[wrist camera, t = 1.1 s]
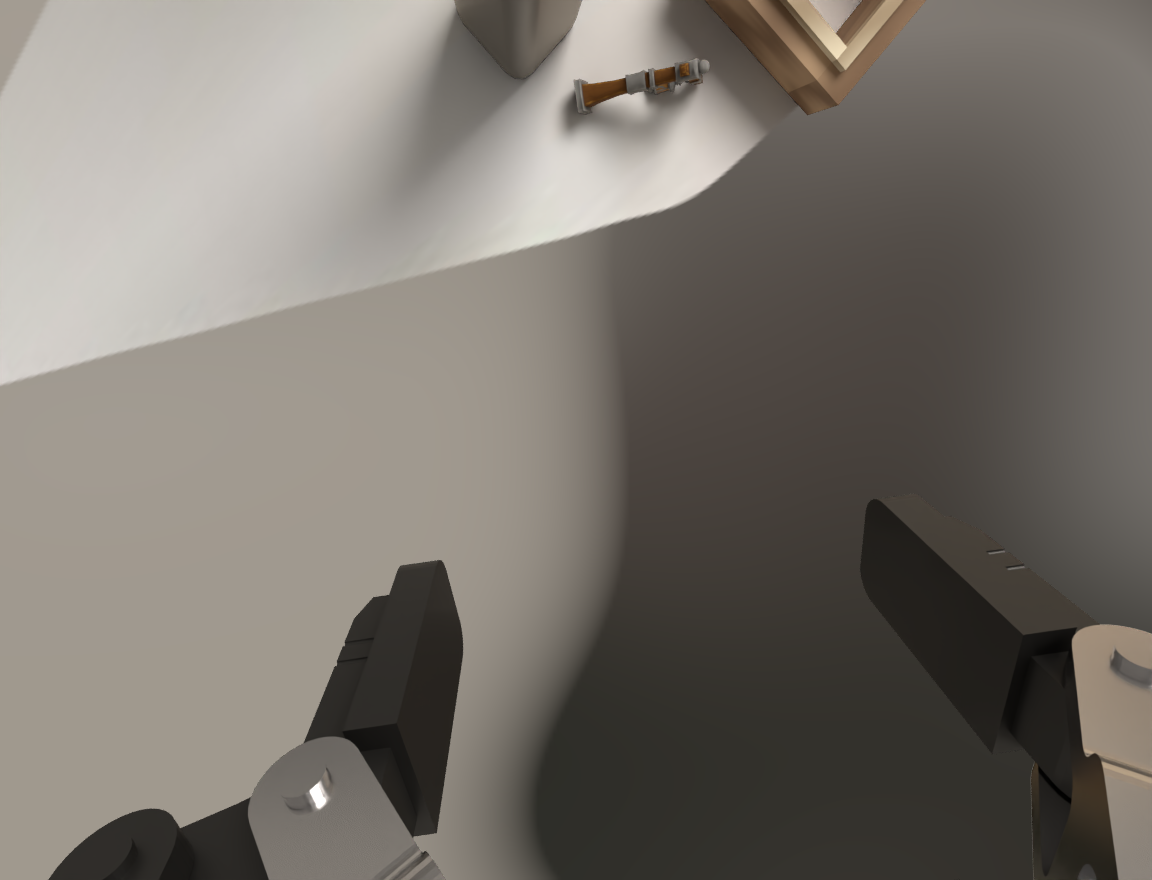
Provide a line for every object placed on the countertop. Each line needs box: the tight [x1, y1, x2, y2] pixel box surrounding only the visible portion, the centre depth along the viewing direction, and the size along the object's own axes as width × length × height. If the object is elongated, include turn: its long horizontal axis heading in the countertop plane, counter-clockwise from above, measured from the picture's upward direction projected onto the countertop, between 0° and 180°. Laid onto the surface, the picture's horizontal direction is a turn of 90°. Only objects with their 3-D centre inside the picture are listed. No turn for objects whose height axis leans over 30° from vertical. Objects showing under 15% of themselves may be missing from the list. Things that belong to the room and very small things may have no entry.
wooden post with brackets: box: [574, 58, 710, 114], centre depth 36 cm, size 2×8×4 cm, turn 99°
